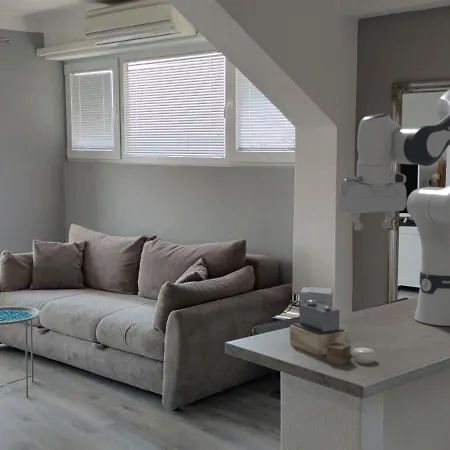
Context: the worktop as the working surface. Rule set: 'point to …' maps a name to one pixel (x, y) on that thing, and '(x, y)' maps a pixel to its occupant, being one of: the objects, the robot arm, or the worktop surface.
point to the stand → (315, 338)
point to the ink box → (317, 295)
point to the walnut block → (338, 353)
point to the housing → (319, 316)
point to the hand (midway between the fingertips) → (372, 229)
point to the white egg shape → (363, 355)
